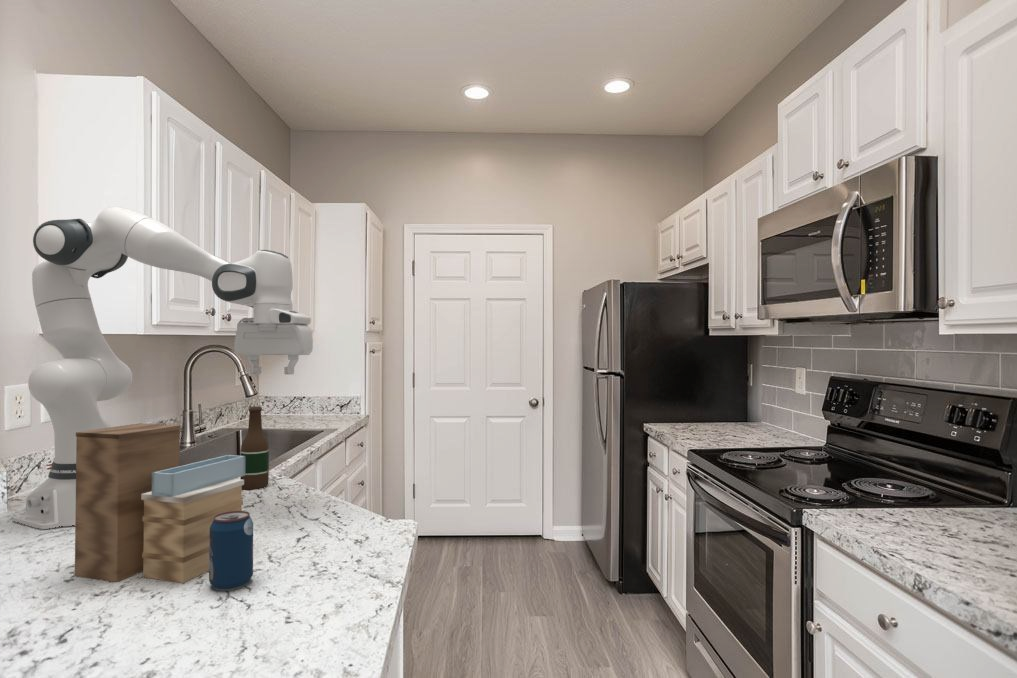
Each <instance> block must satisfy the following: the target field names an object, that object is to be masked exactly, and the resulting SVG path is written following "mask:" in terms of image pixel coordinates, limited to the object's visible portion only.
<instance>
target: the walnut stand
mask: <svg viewBox="0 0 1017 678" xmlns="http://www.w3.org/2000/svg"><path fill="white" fill-rule="evenodd" d="M181 427H182V426H181V424H164V423H163V424H160V423H142V422H141V423H133V424H132V423H131V424H127V425H126V424H125V425H118V426H113V427H111V426H110V428H103V429H96V430H88V431H81V432H76V437H77V442H76V517H75V525H74V528H75V532H74V533H75V534H74V536H75V537H74V541H75V542H74V576H75V577H80V578H85V577H86V579H92V578H93V579H92V580H99V579H102V580H101V581H105V580H107V582H112V581H113V582H112V583H118V581H119V582H120V581H123V580H125V579H128V578H130V577H132V576H136V575H138V574H140V573H143V558H142V552H143V550H144V522H143V521H142V516H144V500H141V494H143V493H147V492H151V491H152V473H153V472H157V471H162V470H166V469H170V468H174V467H179V466H180V450H181V449H180V439H181V438H180V435H181V434H180V433H181V432H180V431H181V429H182V428H181ZM137 573H138V574H137Z"/></svg>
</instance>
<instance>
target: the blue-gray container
mask: <svg viewBox="0 0 1017 678" xmlns="http://www.w3.org/2000/svg"><path fill="white" fill-rule="evenodd" d="M242 476H245V456H241V455H232V454H225V455H222V456H217V457H214V458H209V459H205V460H200V461H196V462H191V463H188V464H184V465H179V467H174V468H170V469H166V470H162V471H157V472H153V473H152V495H155V496H166V497H173V496H177V495H180V494H184V493H187V492H191V491H194V490H197V489H201V488H204V487H208V486H211V485H214V484H218V483H221V482H225V481H228V480H232V479H239V478H241V477H242Z"/></svg>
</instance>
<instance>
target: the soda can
mask: <svg viewBox="0 0 1017 678" xmlns="http://www.w3.org/2000/svg"><path fill="white" fill-rule="evenodd" d="M250 515H251V514H250V512H249V511H245V510H242V511H230V512H225V513H221V514H218V515H216V516H214V518H213V519H214V520H213V522H212V524H211V526H210V534H209V571H208V582H209V584H210V585H211V587H212V588H213V589H214V590H215V591H221V592H226V591H235V590H238V589H242V588H243V587H245V586H246V585H248V584H249V582H250V580H251V579H252V577H253V575H254V521H253V519H252V517H251V516H250Z"/></svg>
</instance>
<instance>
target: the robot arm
mask: <svg viewBox="0 0 1017 678" xmlns="http://www.w3.org/2000/svg"><path fill="white" fill-rule="evenodd" d="M32 244H33V245H32V246H33V248H34V251H35V252H36V254H37V255H38V256H40V258H42V259H44V260H45V261H42V262H40V263H39V264H36V266H34V268H33V270H32V271H31V272H32V274H31V277H32V278H31V280H32V281H31V282H32V295H33V301H34V304H35V309H36V312H37V313H36V314H37V317H38V321H39V325H40V328H41V332H42V336H43V338H44V340H45V341H46V342H47V343H48V344H49V345H50V346H52V347H54V348H55V349H56V350H57V351H58V352H59V353H60V354H61V357H63V358H57V359H54V360H50V361H48V362H44V363H42V364H39V365H38V366H36V367H35V368H34V369H33V370H32V371H31V373H30V375H29V377H28V382H27V385H28V391H29V392H30V393H29V394H31V396H32V398H34V399H35V400H36V401H37V402H39V403H40V404H41V405H42V406H43V407H44V408H45V410H46V412H47V414H48V416H49V418H50V420H51V421H50V422H51V425H52V429H53V439H54V461H53V462H52V463H51V464H46V467H47V468H46V470H47V471H48V470H49V472H48V475H47V477H48V478H47V479H45V481H43V482H42V483H41V484H39V486H37V487H36V488H35V489H34V490H32V491H31V492H30V493H28V495H27V497H26V502H25V511H24V512H21V513H18V514H16V515H14V516H13V517H12V520H11V521H12V522H14V521H15V522H14V523H17V522H19V523H18V524H21V523H22V524H21V525H24V524H25V526H28V525H29V527H31V526H32V528H35V529H38V528H39V529H38V530H48V529H49V528H50V529H55V527H56V528H62V527H61V526H63V527H71V526H72V525H74V526H75V517H76V442H77V437H76V432H81V431H88V430H96V429H103V428H110V427H111V425H110V424H109V422H107V421H106V420H104V418H103V417H102V416H101V413H100V411H99V407H98V403H97V402H101V401H102V402H103V401H108V400H111V399H115V398H117V397H119V396H121V395H123V394H125V393H126V392H127V391H128V390H129V389H130V387H131V386H132V382H133V372H132V371H131V369H130V367H129V366H128V365H127V364H126V363H125V362H123V361H122V360H120V358H119V357H117V355H116V354H115V353H114V351H113V350H112V348H111V346H110V345H109V344H108V342H107V340H106V338H105V337H104V335H103V333H102V331H101V329H100V325H99V323H98V319H97V316H96V311H95V308H94V305H93V300H92V298H91V297H92V296H91V294H90V290H89V285H88V284H89V280H90V278H94V279H101V278H103V277H104V276H106V275H107V274H109V273H112V272H116V271H117V270H119V269H121V267H123V266H124V265H125V264H126V263H127V261H128V258H130V259H132V260H134V261H136V262H138V263H142V264H144V265H147V266H151V267H154V268H159V269H163V270H167V271H168V270H169V271H174V272H182V273H185V274H186V273H187V274H190V275H195V276H198V277H201V278H204V279H206V280H209V281H210V282H211V288H212V291H213V293H214V294H215V296H216V297H217V298H219V299H220V300H222V301H224V302H225V303H231V304H236V305H241V306H247V307H250V308H252V309H253V314H252V315H253V316H252V317H243V318H241V319H240V320H239V321H238V322H237V323H236V324H237V325H236V331H235V335H234V336H235V337H234V345H233V347H234V348H233V351H234V353H235V355H237V356H247V358H246V360H247V362H248V364H249V365H250V367H251V368H250V369H251V374H253V375H261V373H262V366H259V364H258V362H257V360H259V356H287V360H289V362H288V364H287V366H284V368H283V370H284V372H283V373H284V375H294V373H295V367H296V365H297V363H298V361H299V356H309V355H311V354H312V352H313V349H314V348H313V347H314V345H313V331H312V328H311V327H310V326H309V325H310V324H311V322H312V318H311V316H309V315H307V314H305V313H301V312H298V311H296V310H293V307H294V306H293V301H292V292H293V286H294V285H293V283H294V282H293V280H294V279H293V267H292V262H291V259H290V258H289V256H287V255H286V254H284V253H282V252H277V251H275V250H274V251H273V250H270V249H258V250H256V252H254V253H253V254H252V255H251V256H248V257H246V258H243V259H242V260H238V261H235V262H229V261H227V260H224V259H223V258H221V257H219V256H216V255H215V254H214V255H213V254H212V253H210V252H209V251H206V250H205V249H203V248H202V247H200V246H198V245H197V244H195V243H194V242H193V241H191V240H189V239H188V238H186V237H185V236H183V235H182V234H180V233H179V232H177V231H176V230H174V229H173V228H171V227H170V226H168V225H166V224H164V223H163V222H161V221H159V220H157V219H154V218H153V217H151V216H149V215H146V214H144V213H142V212H138V211H135V210H133V209H128V208H124V207H121V206H111V207H108V208H105V209H103V210H102V211H101V212H99V214H98V215H97V216H96V218H95V220H93V221H92V222H86V221H85V220H84V219H82V218H70V219H54V220H53V219H52V220H48V221H47V220H46V221H45V222H43V223H42V224H40V225H38V227H37V228H36V230H35V231H34V233H33V237H32ZM59 526H60V527H59ZM72 527H73V526H72ZM50 529H49V530H50Z"/></svg>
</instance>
